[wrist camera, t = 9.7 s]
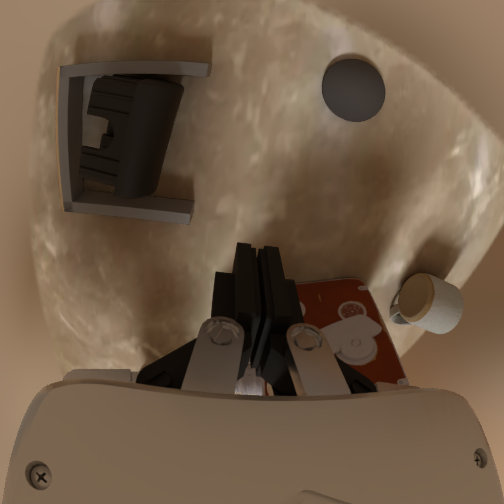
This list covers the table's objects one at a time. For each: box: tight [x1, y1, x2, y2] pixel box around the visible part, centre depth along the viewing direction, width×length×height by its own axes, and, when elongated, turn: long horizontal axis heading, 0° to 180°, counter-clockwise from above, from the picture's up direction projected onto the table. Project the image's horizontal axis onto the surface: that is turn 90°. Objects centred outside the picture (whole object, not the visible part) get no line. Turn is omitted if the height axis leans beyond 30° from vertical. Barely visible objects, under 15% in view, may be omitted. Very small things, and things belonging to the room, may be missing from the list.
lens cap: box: [322, 59, 385, 122], centre depth 24 cm, size 6×6×1 cm
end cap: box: [78, 74, 184, 199], centre depth 23 cm, size 10×7×7 cm
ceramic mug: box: [390, 273, 464, 334], centre depth 37 cm, size 11×8×8 cm
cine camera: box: [235, 278, 410, 396], centre depth 31 cm, size 9×19×20 cm, turn 95°
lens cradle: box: [56, 61, 212, 225], centre depth 25 cm, size 15×14×3 cm
